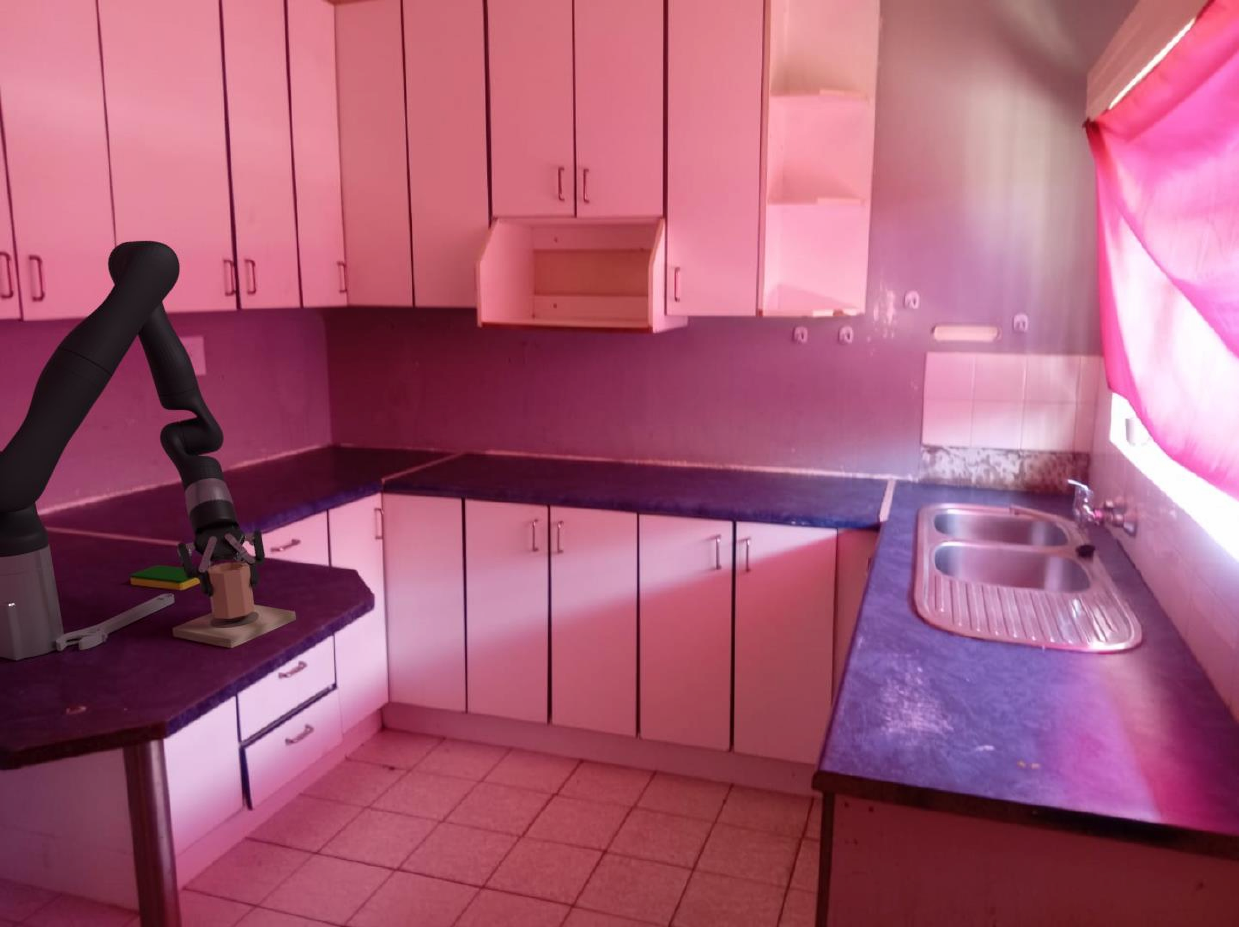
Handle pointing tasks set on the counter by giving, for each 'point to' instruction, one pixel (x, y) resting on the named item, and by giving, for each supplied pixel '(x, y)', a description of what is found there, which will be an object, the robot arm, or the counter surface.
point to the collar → (231, 590)
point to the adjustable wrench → (112, 624)
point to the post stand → (234, 626)
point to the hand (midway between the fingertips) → (232, 590)
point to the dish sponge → (163, 578)
